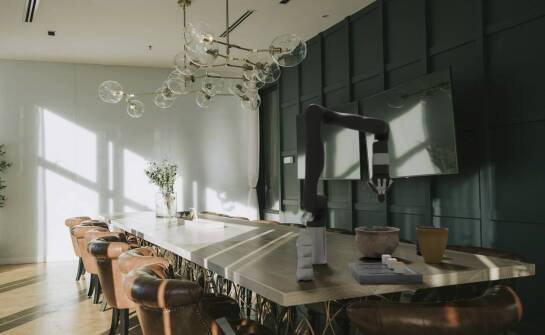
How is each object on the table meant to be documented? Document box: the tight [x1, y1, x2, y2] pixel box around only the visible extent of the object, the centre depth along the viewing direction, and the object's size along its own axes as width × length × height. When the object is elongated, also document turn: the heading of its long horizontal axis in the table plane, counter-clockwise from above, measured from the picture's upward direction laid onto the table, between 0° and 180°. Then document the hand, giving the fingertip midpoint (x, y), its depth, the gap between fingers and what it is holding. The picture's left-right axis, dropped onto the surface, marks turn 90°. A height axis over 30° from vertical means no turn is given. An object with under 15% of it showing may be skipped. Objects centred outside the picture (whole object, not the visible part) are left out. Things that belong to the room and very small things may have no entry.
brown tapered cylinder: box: [415, 224, 436, 257], centre depth 250 cm, size 10×10×15 cm
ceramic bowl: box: [354, 225, 400, 259], centre depth 242 cm, size 22×22×15 cm
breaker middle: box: [387, 257, 398, 269], centre depth 195 cm, size 3×4×3 cm
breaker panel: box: [347, 262, 424, 284], centre depth 195 cm, size 24×28×3 cm
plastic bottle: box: [295, 228, 315, 282], centre depth 188 cm, size 6×7×20 cm
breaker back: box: [381, 255, 392, 264], centre depth 205 cm, size 3×4×3 cm
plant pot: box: [415, 227, 450, 264], centre depth 227 cm, size 15×15×16 cm
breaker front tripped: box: [394, 261, 405, 273], centre depth 185 cm, size 3×4×4 cm
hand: (381, 202), depth 214 cm, fingers closed
